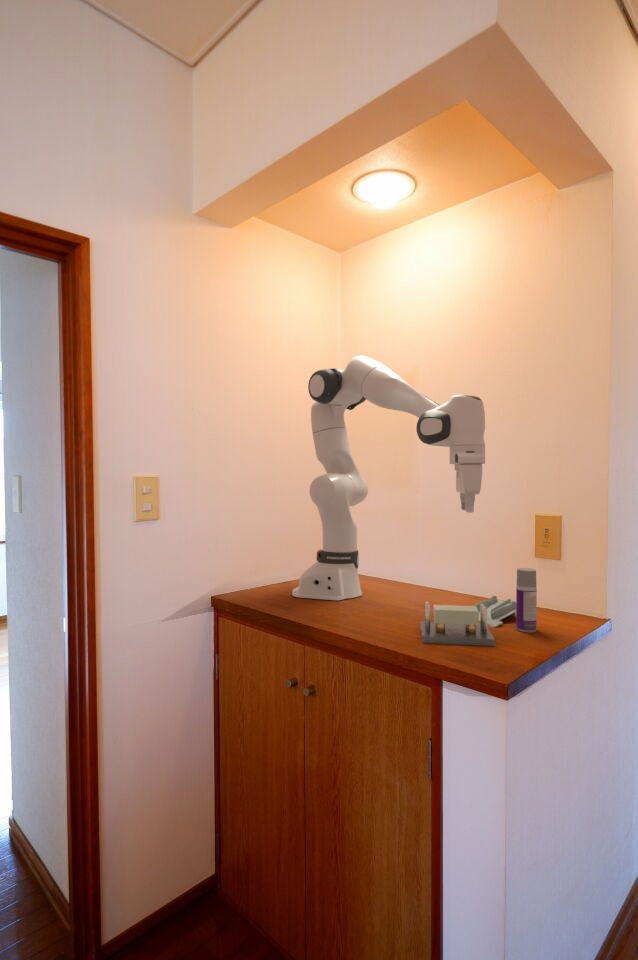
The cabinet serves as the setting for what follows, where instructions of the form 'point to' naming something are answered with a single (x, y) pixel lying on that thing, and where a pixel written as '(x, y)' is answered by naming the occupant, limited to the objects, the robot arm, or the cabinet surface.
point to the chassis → (456, 631)
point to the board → (456, 614)
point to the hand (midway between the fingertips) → (467, 511)
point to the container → (526, 600)
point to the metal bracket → (497, 610)
